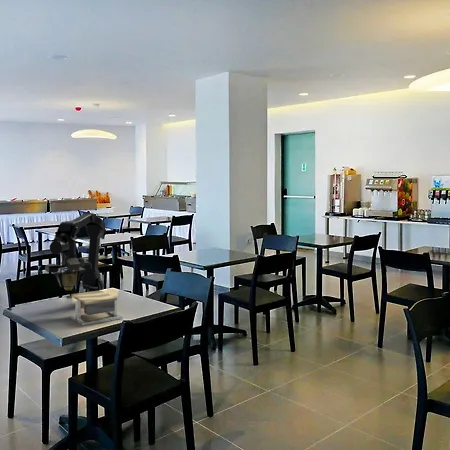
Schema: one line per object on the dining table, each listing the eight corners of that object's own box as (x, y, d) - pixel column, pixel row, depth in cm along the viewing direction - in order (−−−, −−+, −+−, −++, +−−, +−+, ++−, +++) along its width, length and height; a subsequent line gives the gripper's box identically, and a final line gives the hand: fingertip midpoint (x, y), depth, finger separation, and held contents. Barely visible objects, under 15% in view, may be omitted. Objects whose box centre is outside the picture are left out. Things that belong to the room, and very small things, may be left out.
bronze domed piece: (67, 292, 217) (67, 274, 216) (56, 289, 221) (56, 271, 220) (81, 289, 223) (81, 271, 222) (70, 286, 227) (69, 269, 226)
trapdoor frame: (71, 317, 217) (71, 298, 216) (110, 311, 228) (110, 293, 227) (82, 325, 207) (82, 305, 206) (122, 318, 218) (123, 299, 217)
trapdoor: (71, 306, 222) (71, 294, 221) (101, 302, 230) (101, 290, 230) (85, 315, 209) (85, 302, 209) (116, 310, 218) (116, 297, 217)
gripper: (52, 255, 208) (53, 292, 210) (96, 251, 219) (96, 287, 221) (44, 251, 217) (45, 287, 219) (86, 248, 228) (86, 282, 230)
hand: (68, 286), depth 222 cm, fingers closed on bronze domed piece, 6 cm apart
